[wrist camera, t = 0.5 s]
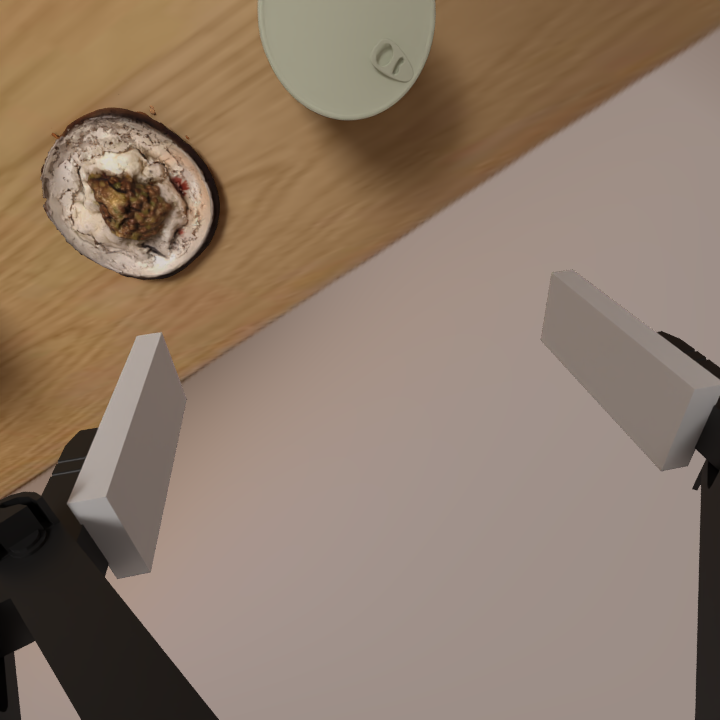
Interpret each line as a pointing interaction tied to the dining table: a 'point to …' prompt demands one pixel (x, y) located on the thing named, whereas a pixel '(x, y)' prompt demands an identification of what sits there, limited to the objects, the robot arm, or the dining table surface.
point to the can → (347, 51)
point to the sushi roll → (130, 194)
